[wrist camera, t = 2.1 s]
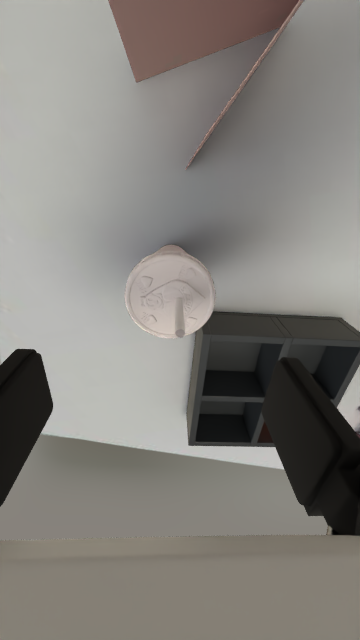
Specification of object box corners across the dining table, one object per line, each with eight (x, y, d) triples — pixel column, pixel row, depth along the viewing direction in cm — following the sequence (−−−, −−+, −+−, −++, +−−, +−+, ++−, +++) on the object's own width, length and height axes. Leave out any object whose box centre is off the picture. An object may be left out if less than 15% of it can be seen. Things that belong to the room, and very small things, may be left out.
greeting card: (286, 6, 17) (710, -680, 4) (292, 134, 20) (519, 29, 7) (132, 66, 18) (18, -274, 5) (162, 177, 21) (146, 158, 8)
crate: (341, 317, 29) (372, 341, 24) (298, 416, 37) (315, 448, 32) (198, 310, 28) (203, 334, 23) (186, 413, 36) (188, 445, 31)
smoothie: (202, 289, 27) (227, 376, 14) (144, 293, 27) (119, 382, 14) (201, 228, 24) (233, 271, 11) (136, 232, 24) (96, 279, 11)
